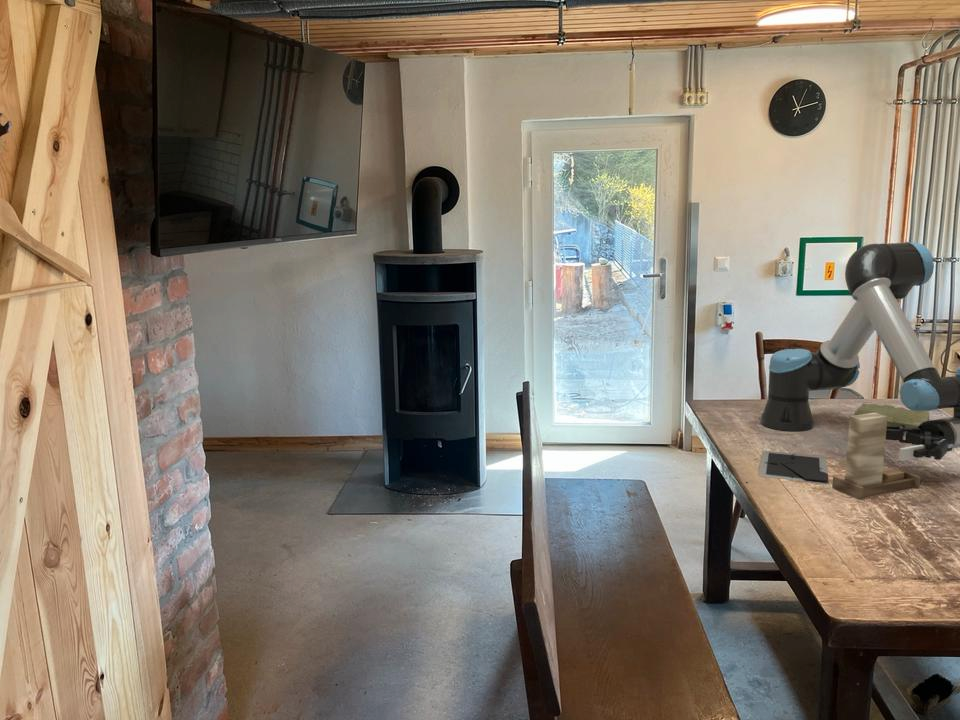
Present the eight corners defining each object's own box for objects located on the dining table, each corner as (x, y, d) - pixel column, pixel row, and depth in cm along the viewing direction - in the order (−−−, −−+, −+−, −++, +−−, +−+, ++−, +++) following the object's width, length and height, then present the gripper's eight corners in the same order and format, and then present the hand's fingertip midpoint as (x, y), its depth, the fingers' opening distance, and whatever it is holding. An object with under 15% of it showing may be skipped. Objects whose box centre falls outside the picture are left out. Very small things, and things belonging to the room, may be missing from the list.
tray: (831, 492, 169) (833, 476, 168) (889, 481, 174) (890, 466, 174) (859, 504, 161) (861, 488, 161) (918, 492, 167) (920, 476, 166)
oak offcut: (874, 484, 170) (875, 470, 169) (890, 481, 171) (891, 467, 171) (886, 489, 167) (888, 475, 166) (902, 486, 168) (904, 472, 167)
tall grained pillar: (844, 490, 167) (849, 416, 163) (868, 485, 169) (874, 412, 166) (856, 495, 164) (862, 420, 160) (881, 490, 166) (887, 416, 162)
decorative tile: (925, 434, 211) (927, 423, 211) (850, 425, 223) (851, 414, 222) (931, 419, 226) (932, 409, 225) (860, 411, 238) (861, 401, 237)
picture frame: (827, 491, 171) (825, 464, 190) (828, 480, 171) (826, 454, 189) (757, 483, 178) (762, 457, 196) (758, 472, 177) (762, 447, 196)
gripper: (991, 465, 160) (922, 479, 154) (894, 435, 184) (830, 446, 177) (995, 433, 159) (925, 445, 152) (897, 407, 182) (832, 416, 175)
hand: (874, 445), depth 164 cm, fingers open, 13 cm apart
